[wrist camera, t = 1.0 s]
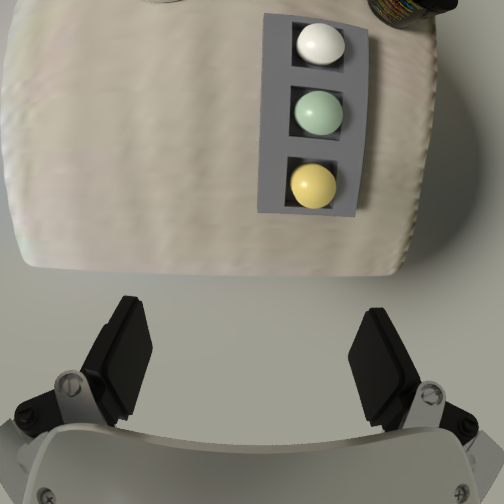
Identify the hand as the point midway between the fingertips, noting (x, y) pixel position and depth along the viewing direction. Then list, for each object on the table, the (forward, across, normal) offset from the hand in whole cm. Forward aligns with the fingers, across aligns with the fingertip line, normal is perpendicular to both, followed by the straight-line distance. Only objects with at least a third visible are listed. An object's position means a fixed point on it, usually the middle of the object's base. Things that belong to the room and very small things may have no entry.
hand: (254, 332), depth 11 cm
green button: (+20, -6, -9) cm, 23 cm away
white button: (+21, -5, -17) cm, 27 cm away
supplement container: (+23, -15, -26) cm, 38 cm away
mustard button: (+20, -6, -2) cm, 21 cm away
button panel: (+23, -6, -9) cm, 25 cm away
